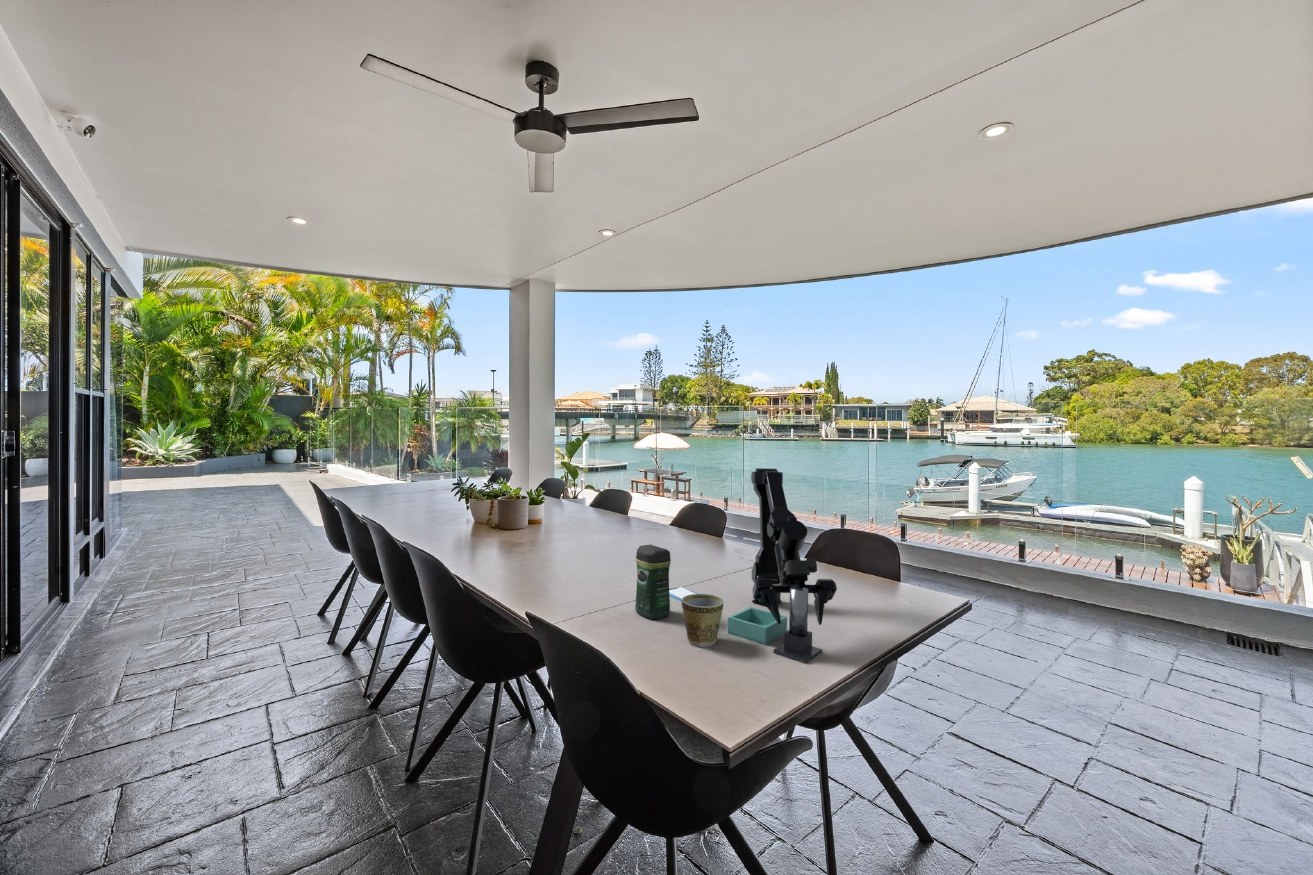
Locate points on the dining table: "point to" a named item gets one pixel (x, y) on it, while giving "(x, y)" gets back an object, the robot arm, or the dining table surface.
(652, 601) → the coffee jar
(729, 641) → the dining table surface
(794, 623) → the strut
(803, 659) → the stud base
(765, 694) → the dining table surface
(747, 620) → the bin
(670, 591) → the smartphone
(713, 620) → the ceramic cup
